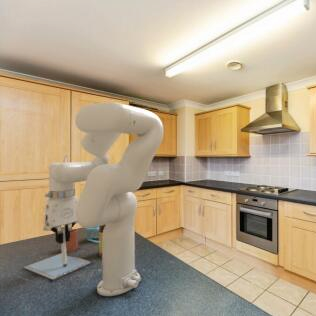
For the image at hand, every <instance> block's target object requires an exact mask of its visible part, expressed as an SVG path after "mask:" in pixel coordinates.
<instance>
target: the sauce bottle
mask: <svg viewBox="0 0 316 316" xmlns="http://www.w3.org/2000/svg"><path fill="white" fill-rule="evenodd" d="M105 225H106V224H105ZM105 225H102V226H99V230H98V237H99V238H98V241H99V243H98V256H99V257H101V258H102V234H103V230H104V227H105Z"/></svg>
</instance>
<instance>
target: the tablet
mask: <svg viewBox="0 0 316 316" xmlns="http://www.w3.org/2000/svg"><path fill="white" fill-rule="evenodd" d="M91 264H92V261H90V260H87V259H83V258H81V257H78V256H75V255H71V254H68V253H67V266H65V267H63V264H62V252H61V253H58V254H56V255H53V256H50V257H48V258H44V259H41V260H39V261H37V262H34V263H31V264H28V265H26V266H23V267H22V268H23V269H25V270H27V271H29V272H32V273H34V274H36V275H39V276H41V277H44V278H46V279H48V280H49V281H51V282H54V281H56V280H59V279H61V278H63V277H66V276H68V275H70V274H72V273H74V272H77V271H78V270H80V269H81V270H82V269H83V268H85V267H88V266H89V265H91Z"/></svg>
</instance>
